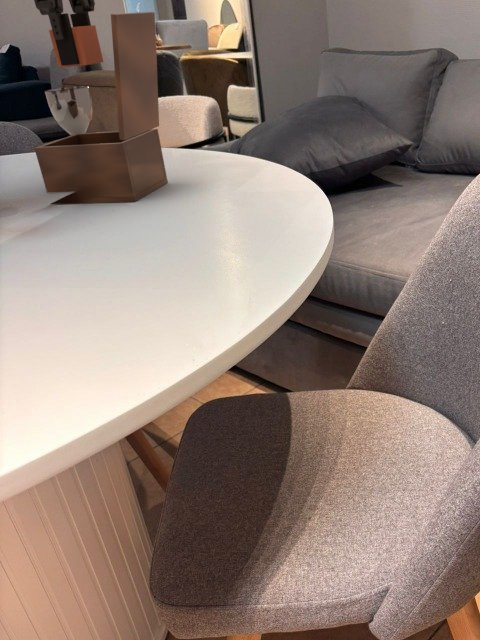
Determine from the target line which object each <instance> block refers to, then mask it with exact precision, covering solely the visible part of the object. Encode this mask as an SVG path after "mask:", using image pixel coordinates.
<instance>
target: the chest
mask: <svg viewBox="0 0 480 640" xmlns="http://www.w3.org/2000/svg"><path fill="white" fill-rule="evenodd" d="M33 149H34V152H35V155H36V160H37V162H38V166H39V169H40V173H41V177H42V180H43V183H44V187H45V190H46V193H47V194H48V193H69V194H67V195H65V196H63V197H61V198H59V199H56V200H54V201H52V202H50V205H66V204H67V205H68V204H69V205H70V204H71V205H73V204H103V203H104V204H105V203H107V204H108V203H111V204H112V203H136V202H138V201H139V200H141V199H143V198H145V197H147V196H148V195H150V194H152V192H155V191H156V190H158V189H160V188H161V187H163V186H164V185H166V184H168V183H169V181H168V176H167V170H166V166H165V160H164V155H163V150H162V145H161V140H160V134H159V129H158V128H153V129H151V130H148V131H146V132H143V133H141V134H138V135H136V136H134V137H131V138H129V139H126V140H120V138H119V130H116V131H115V130H113V131H100V132H99V131H98V132H97V131H96V132H86V133H79V134H74V135H68V136H66V137H62V138H60V139H56V140H53V141H51V142H48V143H45V144H42V145H39V146H36V147H34V148H33Z"/></svg>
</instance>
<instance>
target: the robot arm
mask: <svg viewBox="0 0 480 640" xmlns="http://www.w3.org/2000/svg"><path fill="white" fill-rule="evenodd" d="M33 2H34V5H35V8H36V9H37V10H38V11H39V13H40V15H41V16H47V17H48V20H49V23H50V27H51V30H52V31H53V35H54V38H55V41H56V45H57V49H58V53H59V57H60V61H61V65H62V66H63V65H73V64H80V62H79V58H78V54H77V49H76V45H75V41H74V37H73V33H72V29H71V27H80V26H92V24H91V19H90V15H89V13H90V12H95V5H96V3H95V0H68V2H69V5H70V8H71V10H72V12H73V13H69V12H67V13H66V12H65V13H64V4H63V3H64V2H63V0H33Z"/></svg>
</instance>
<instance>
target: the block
mask: <svg viewBox="0 0 480 640" xmlns="http://www.w3.org/2000/svg"><path fill="white" fill-rule="evenodd" d="M71 29H72V33H73V37H74V41H75V45H76V49H77V54H78V58H79V62H80V64H73V65H63V66H62V65H61V61H60V57H59V53H58V49H57V45H56V41H55V38H54V35H53V31H52V29H49V30H48V32H49V38H50V40H51V44H52V47H53V52H54V55H55V60H56V64H57V67H58V68H59V69H60V68H61V69H62V68H70V67H71V68H72V67H82V66H90V65H96V64H100V63H104V58H103V53H102V48H101V44H100V40H99V35H98V30H97V27H96V25H95V24H94V25H93V24H91V26H80V27H73V26H71Z"/></svg>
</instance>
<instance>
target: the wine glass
mask: <svg viewBox="0 0 480 640" xmlns="http://www.w3.org/2000/svg"><path fill="white" fill-rule="evenodd" d="M44 94H45V98H46V100H47V101H46V102H47V104H48V107H49V109H50V112H51V115H52V116H53V118H54V121H55V122H56V123H57V125H58V126H59V127H60V128H61V129H62V130H63V131H65V132H66V133H68V135H69V136H71V135H74V134H79V133H87V131H88V129H89V127H90V125H91V123H92V121H93V101H92V96H91V95H92V94H91V91H90V87H89V86H88V85H77V86H66V87H59V88H54V89H48V90H44Z"/></svg>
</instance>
